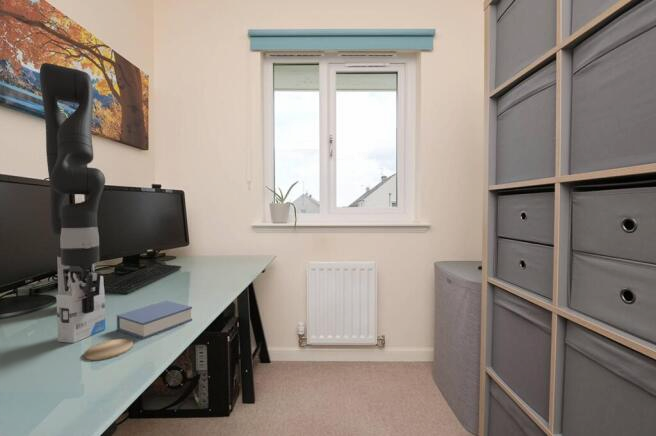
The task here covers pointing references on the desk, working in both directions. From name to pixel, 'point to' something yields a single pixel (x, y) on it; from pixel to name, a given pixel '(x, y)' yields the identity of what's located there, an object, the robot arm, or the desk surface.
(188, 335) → the desk surface
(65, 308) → the ink box
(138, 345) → the desk surface
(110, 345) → the cork coaster
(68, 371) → the desk surface
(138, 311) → the navy book
